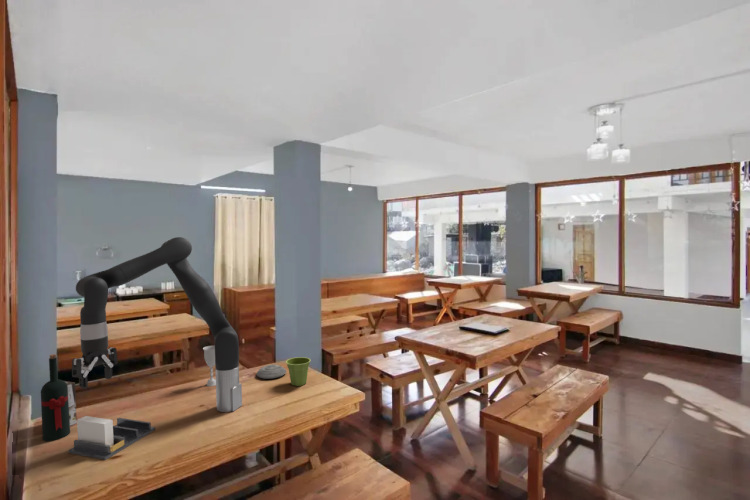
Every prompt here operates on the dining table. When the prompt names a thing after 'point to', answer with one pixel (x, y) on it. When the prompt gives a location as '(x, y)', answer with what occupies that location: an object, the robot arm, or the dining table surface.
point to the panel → (95, 430)
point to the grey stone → (271, 371)
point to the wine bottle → (55, 405)
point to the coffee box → (72, 402)
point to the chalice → (210, 362)
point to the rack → (122, 436)
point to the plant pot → (298, 370)
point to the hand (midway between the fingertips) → (96, 383)
